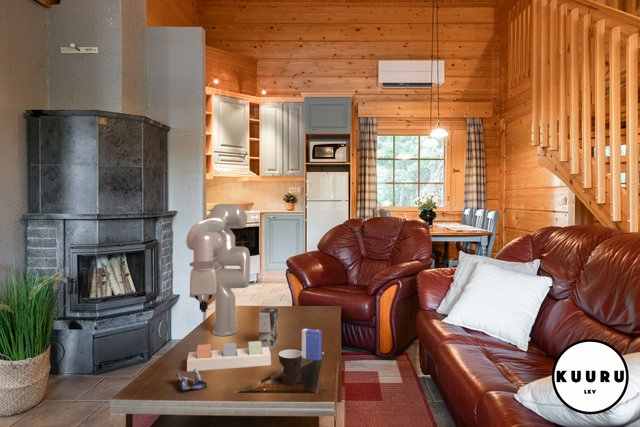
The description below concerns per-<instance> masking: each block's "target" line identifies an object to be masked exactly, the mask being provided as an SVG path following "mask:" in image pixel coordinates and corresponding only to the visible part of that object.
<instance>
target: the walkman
mask: <svg viewBox="0 0 640 427" xmlns="http://www.w3.org/2000/svg"><path fill="white" fill-rule="evenodd" d="M301 352H302V359H305V360H312V361H320V360H321V359H322V330H320V329H311V328H303V329H302V330H301Z"/></svg>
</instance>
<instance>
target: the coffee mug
mask: <svg viewBox="0 0 640 427" xmlns="http://www.w3.org/2000/svg"><path fill="white" fill-rule="evenodd" d="M278 360H279V367H280V368H279V370H280V377H281V378H280V379H281V383H282V384H285V385H296V384H299V382H300V377H301V373H302V360H303V358H302V350H300V349H299V350H298V349H291V348H290V349H284V350H281V351H279V352H278Z"/></svg>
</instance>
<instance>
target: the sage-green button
mask: <svg viewBox="0 0 640 427" xmlns="http://www.w3.org/2000/svg"><path fill="white" fill-rule="evenodd" d="M247 343H248V347H247V348H248V354H249V355H255V354H262V345H261V341H259V340H256V341H248V342H247Z"/></svg>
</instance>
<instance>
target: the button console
mask: <svg viewBox="0 0 640 427" xmlns="http://www.w3.org/2000/svg"><path fill="white" fill-rule="evenodd" d="M271 354H272V353H271V349H269V347H262V354H255V355H249V354H248V347H246V348H236V356H226V357H223V349H217V350H211V358H198V359H197V351H189V352H188V356H187V360H186V371H187V372H194V369H196V370H198V372H199V371H201V372H202V371H212V370H225V369H237V368H238V369H239V368H240V369H241V368H251V367H262V366H263V367H265V366H272V355H271Z"/></svg>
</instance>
